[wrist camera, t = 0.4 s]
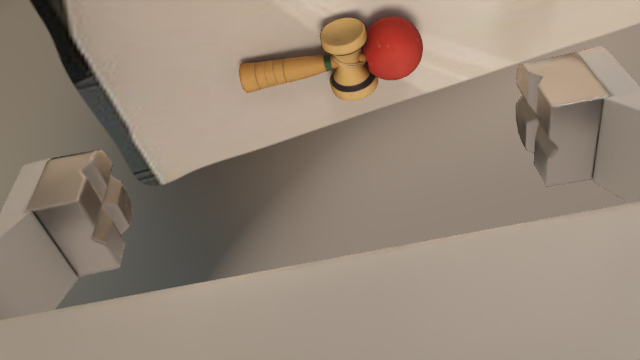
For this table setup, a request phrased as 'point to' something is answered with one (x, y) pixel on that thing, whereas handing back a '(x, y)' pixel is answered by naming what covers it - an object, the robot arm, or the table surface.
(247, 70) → the kendama
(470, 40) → the table surface
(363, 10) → the table surface
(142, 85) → the table surface
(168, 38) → the table surface
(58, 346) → the robot arm
